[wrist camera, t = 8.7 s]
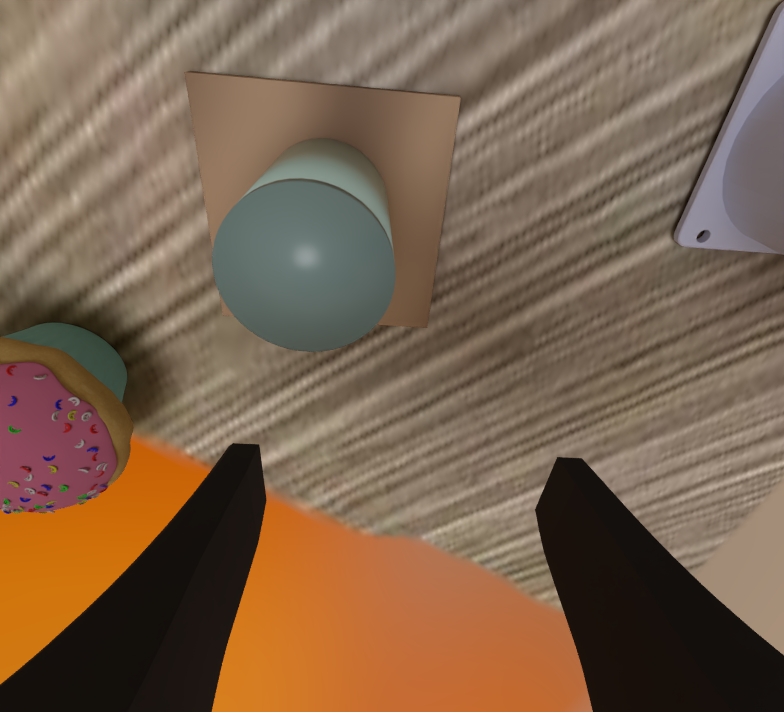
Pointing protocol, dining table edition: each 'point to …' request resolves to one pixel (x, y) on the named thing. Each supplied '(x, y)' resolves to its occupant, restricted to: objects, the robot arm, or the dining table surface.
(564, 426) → the dining table surface
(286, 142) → the coaster
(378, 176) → the cylinder
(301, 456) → the dining table surface
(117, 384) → the cupcake
